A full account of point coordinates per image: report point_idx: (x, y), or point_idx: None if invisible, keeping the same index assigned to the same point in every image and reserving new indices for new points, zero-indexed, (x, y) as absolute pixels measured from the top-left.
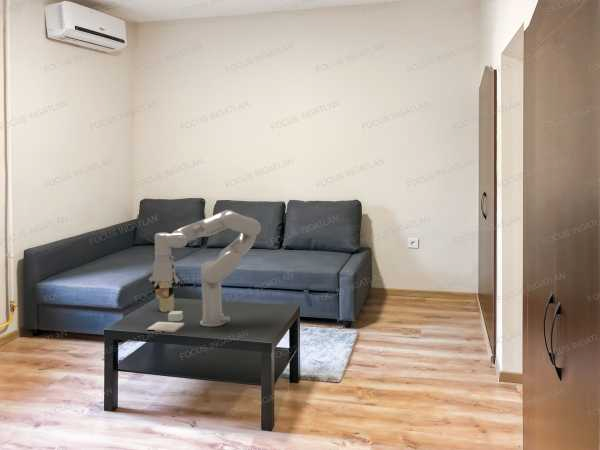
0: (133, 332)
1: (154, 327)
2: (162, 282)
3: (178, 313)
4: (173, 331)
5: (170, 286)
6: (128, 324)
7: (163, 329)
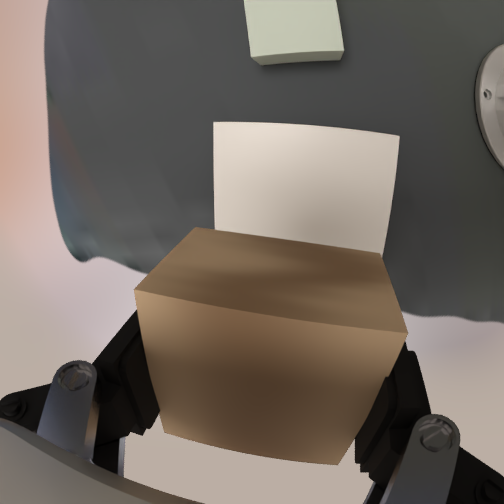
0: None
1: None
2: None
3: (327, 31)
4: None
5: (385, 484)
6: (85, 168)
7: None
